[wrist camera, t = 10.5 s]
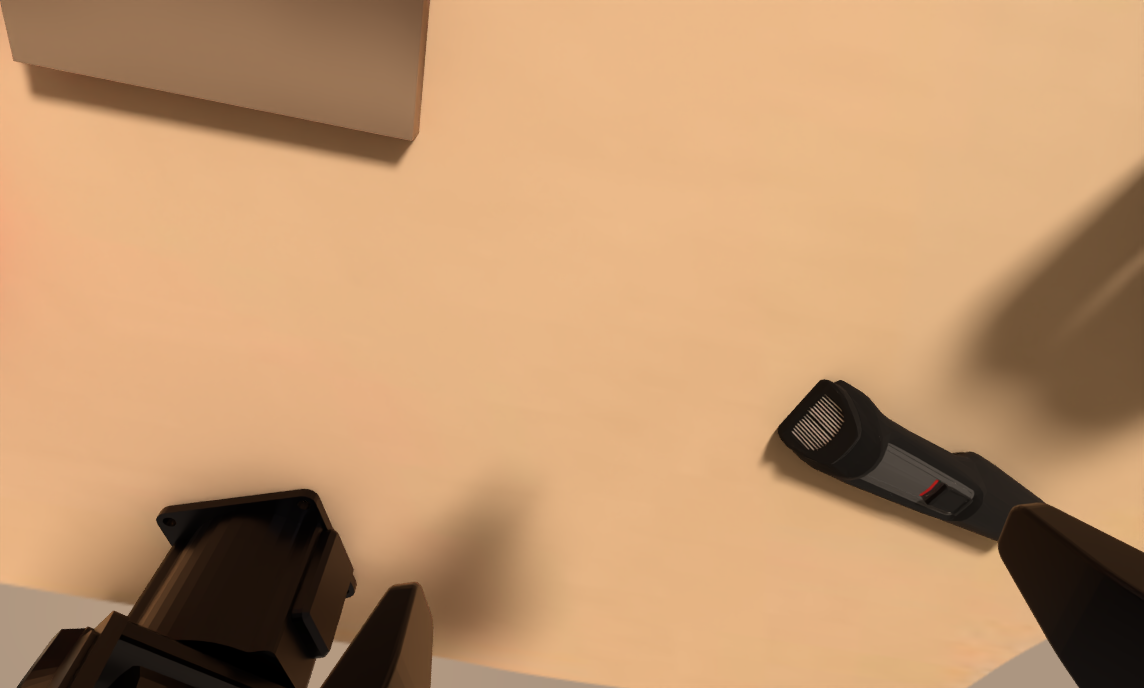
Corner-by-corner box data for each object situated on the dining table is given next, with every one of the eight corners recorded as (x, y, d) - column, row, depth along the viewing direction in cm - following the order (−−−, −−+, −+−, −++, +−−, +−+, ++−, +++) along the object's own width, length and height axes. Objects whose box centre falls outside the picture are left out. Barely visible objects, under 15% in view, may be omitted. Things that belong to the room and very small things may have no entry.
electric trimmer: (991, 536, 30) (1039, 589, 27) (766, 430, 25) (798, 483, 22) (1052, 487, 29) (1109, 538, 26) (826, 365, 24) (867, 412, 21)
